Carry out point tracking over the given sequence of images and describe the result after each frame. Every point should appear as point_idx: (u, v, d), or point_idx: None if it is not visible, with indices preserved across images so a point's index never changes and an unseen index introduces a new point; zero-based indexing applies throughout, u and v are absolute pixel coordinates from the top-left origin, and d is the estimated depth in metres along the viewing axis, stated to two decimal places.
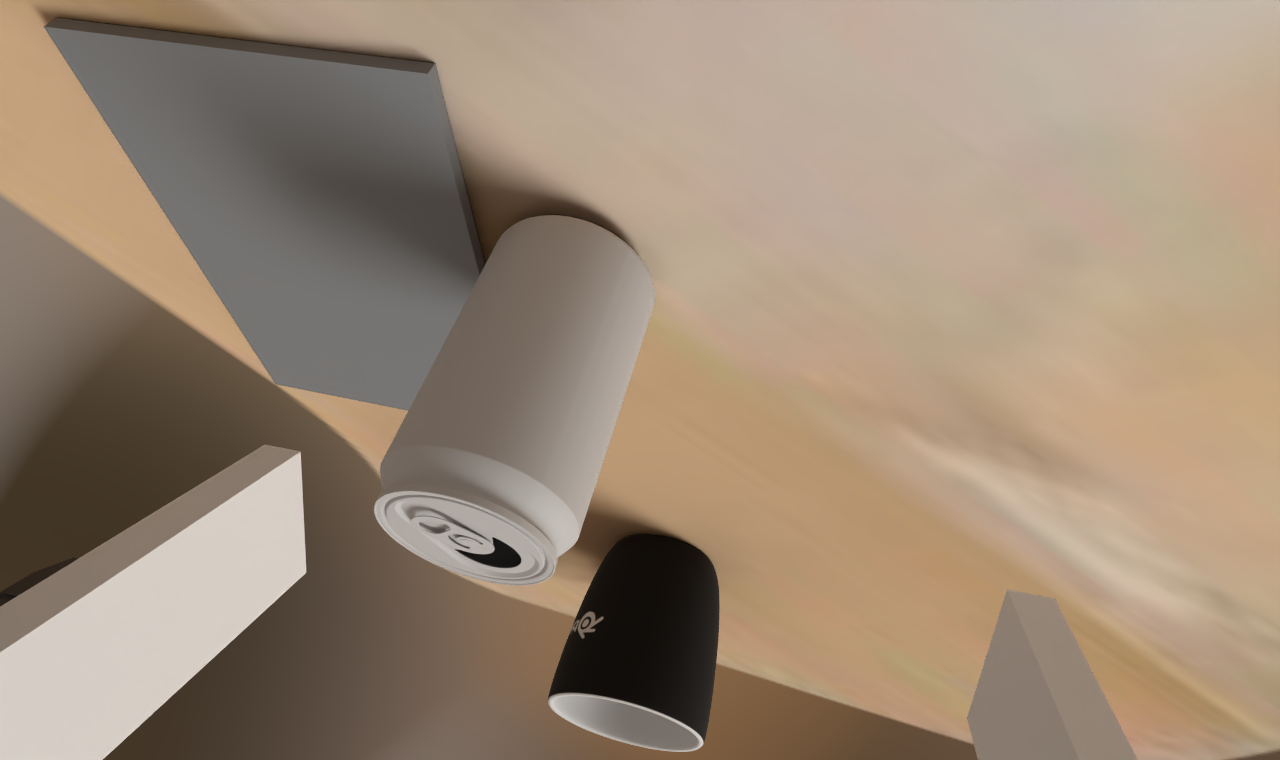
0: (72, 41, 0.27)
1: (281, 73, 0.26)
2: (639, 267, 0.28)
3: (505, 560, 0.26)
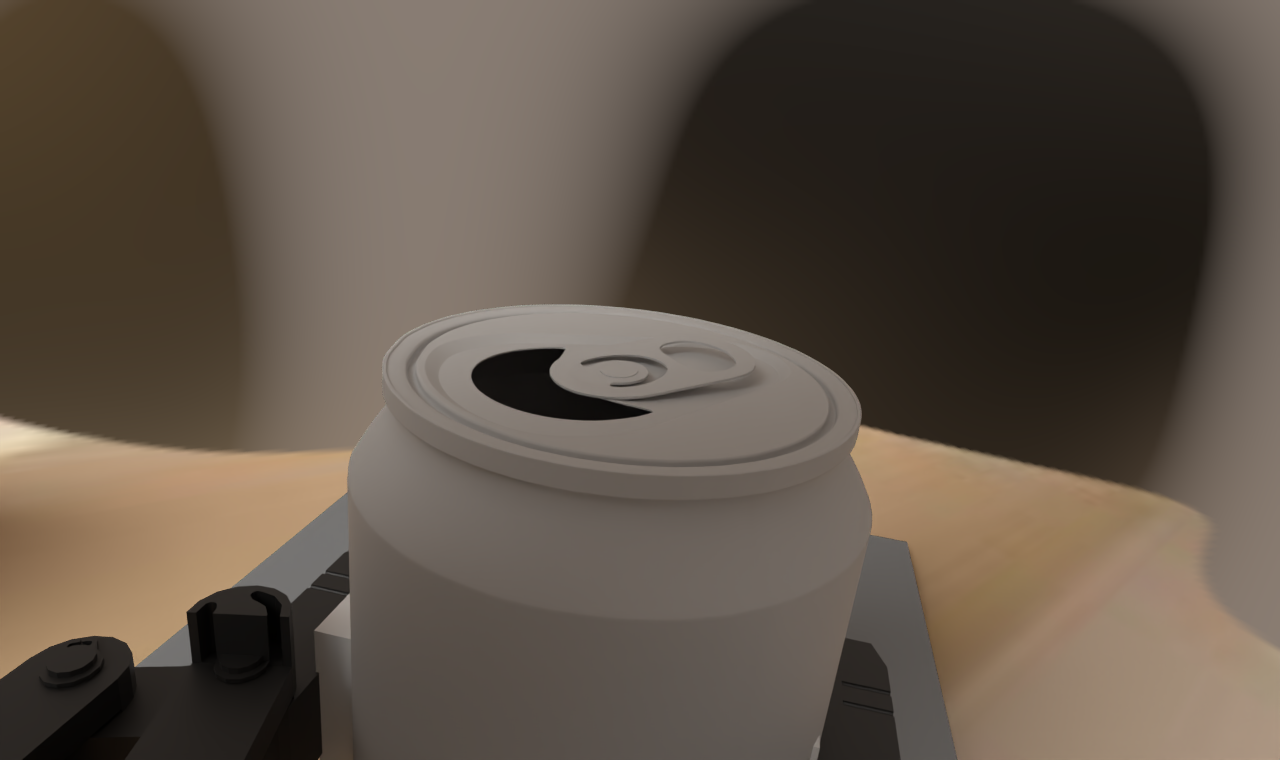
0: (897, 551, 0.28)
1: (920, 702, 0.21)
2: None
3: None
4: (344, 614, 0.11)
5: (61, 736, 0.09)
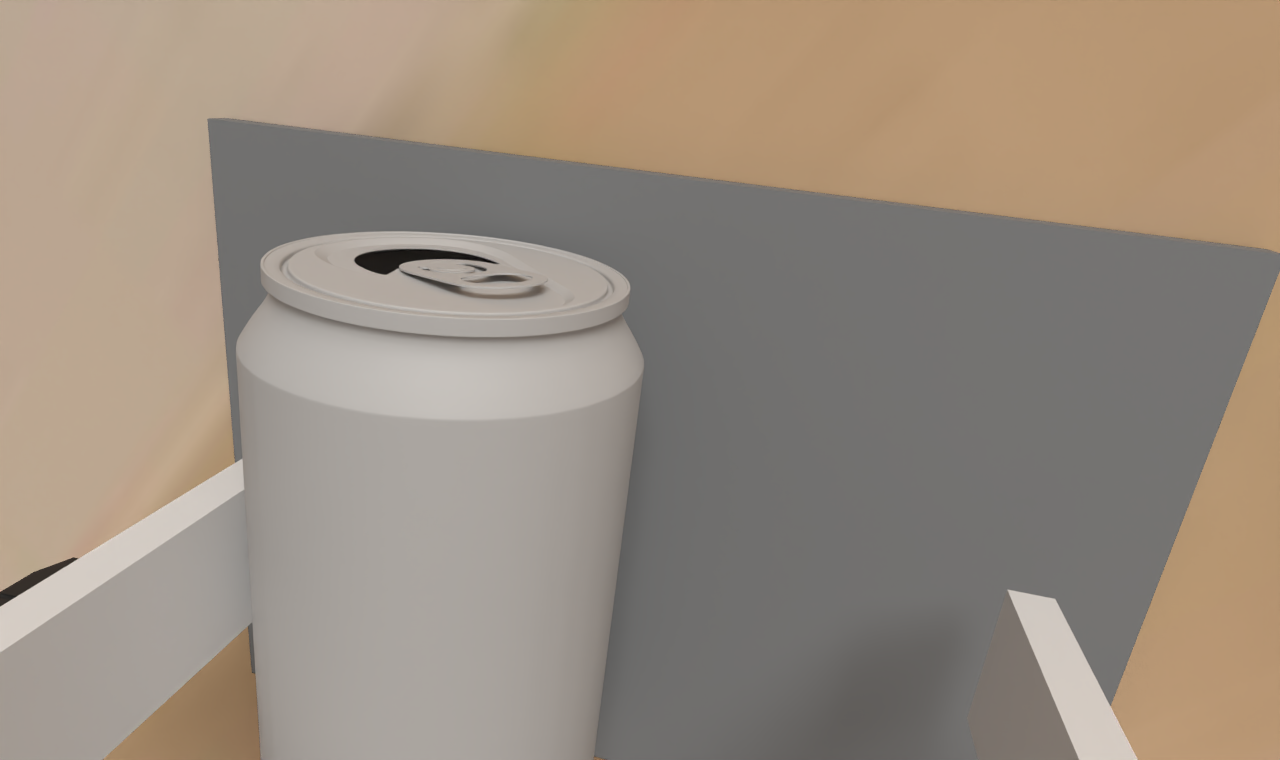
0: None
1: None
2: None
3: None
4: None
5: None
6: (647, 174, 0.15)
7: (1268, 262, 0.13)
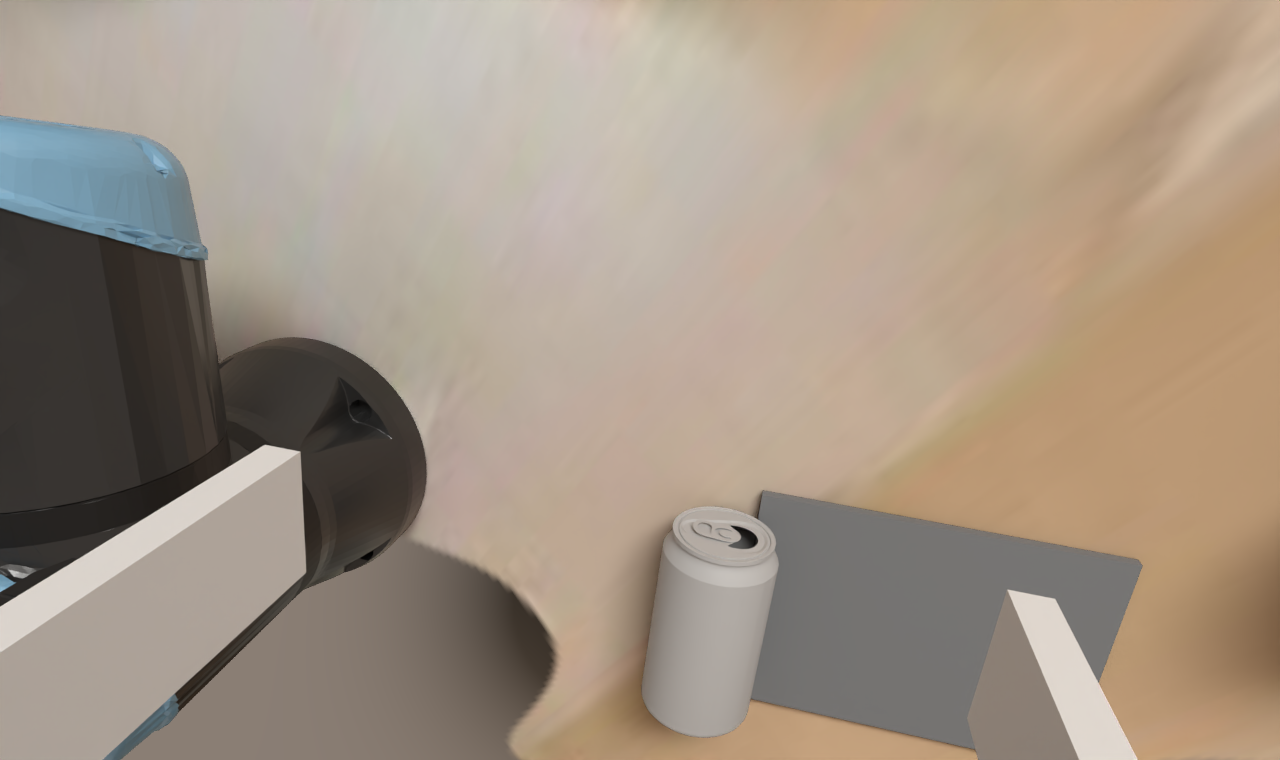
0: None
1: None
2: None
3: (764, 572, 0.41)
4: None
5: None
6: (930, 525, 0.43)
7: (1137, 567, 0.41)
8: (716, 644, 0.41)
